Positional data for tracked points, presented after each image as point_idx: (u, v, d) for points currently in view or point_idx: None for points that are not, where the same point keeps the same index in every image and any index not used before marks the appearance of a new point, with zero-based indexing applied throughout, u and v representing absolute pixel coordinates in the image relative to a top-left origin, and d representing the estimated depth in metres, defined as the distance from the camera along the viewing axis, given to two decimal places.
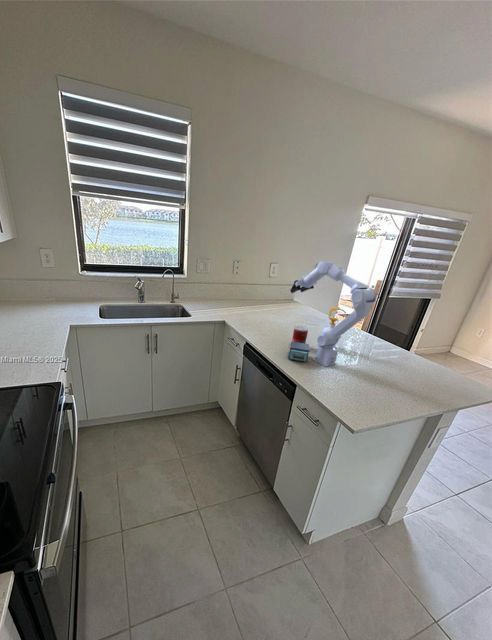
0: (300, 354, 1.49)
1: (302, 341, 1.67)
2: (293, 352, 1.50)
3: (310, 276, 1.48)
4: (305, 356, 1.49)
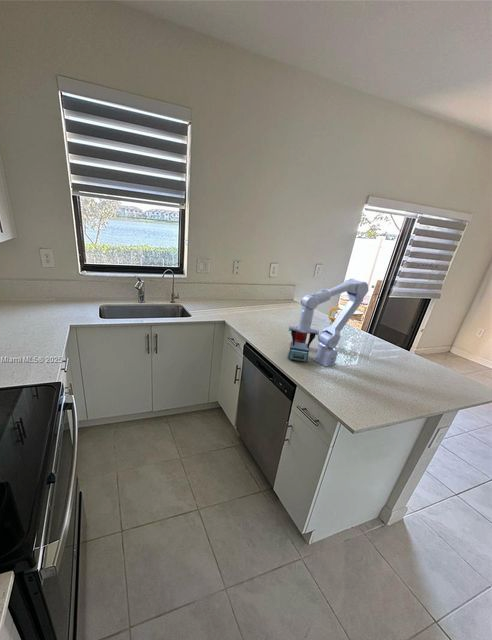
0: (300, 354, 1.49)
1: (302, 341, 1.67)
2: (293, 352, 1.50)
3: (308, 320, 1.38)
4: (305, 356, 1.49)
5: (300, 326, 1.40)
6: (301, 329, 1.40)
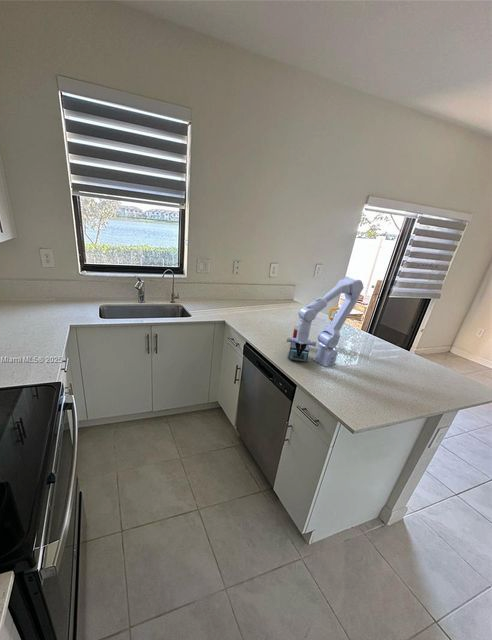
0: None
1: None
2: (293, 352, 1.50)
3: (306, 332, 1.40)
4: (305, 356, 1.49)
5: (298, 338, 1.43)
6: (299, 340, 1.43)
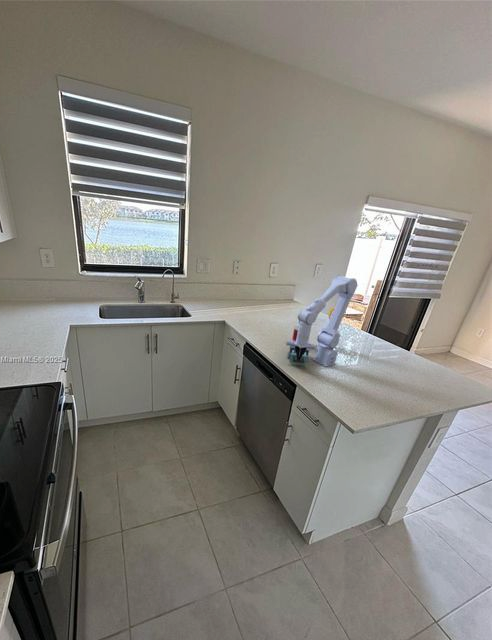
0: None
1: None
2: (293, 356, 1.46)
3: (307, 335, 1.36)
4: (305, 360, 1.45)
5: (297, 341, 1.38)
6: (298, 344, 1.38)
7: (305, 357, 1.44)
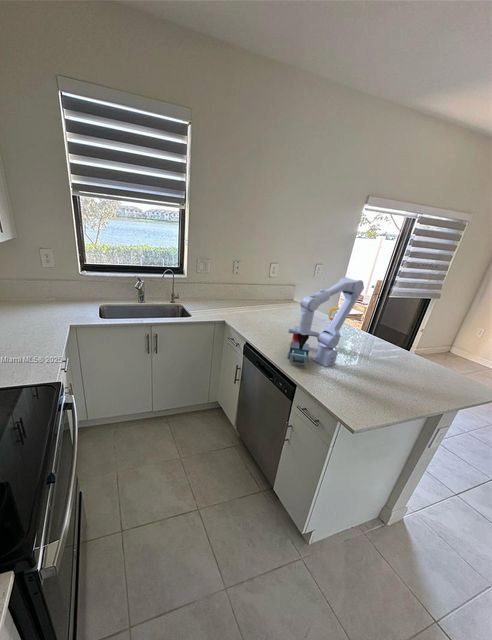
0: (300, 358, 1.45)
1: None
2: (293, 356, 1.46)
3: (309, 322, 1.35)
4: (305, 360, 1.45)
5: (300, 328, 1.38)
6: (301, 331, 1.37)
7: (305, 357, 1.44)
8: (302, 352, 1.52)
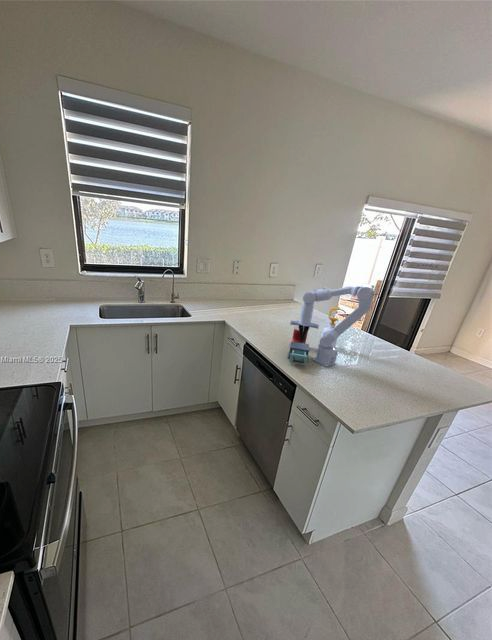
0: (300, 358, 1.45)
1: (302, 341, 1.67)
2: (293, 356, 1.46)
3: (305, 314, 1.47)
4: (305, 360, 1.45)
5: (301, 320, 1.50)
6: (302, 323, 1.50)
7: (305, 357, 1.44)
8: (302, 352, 1.52)
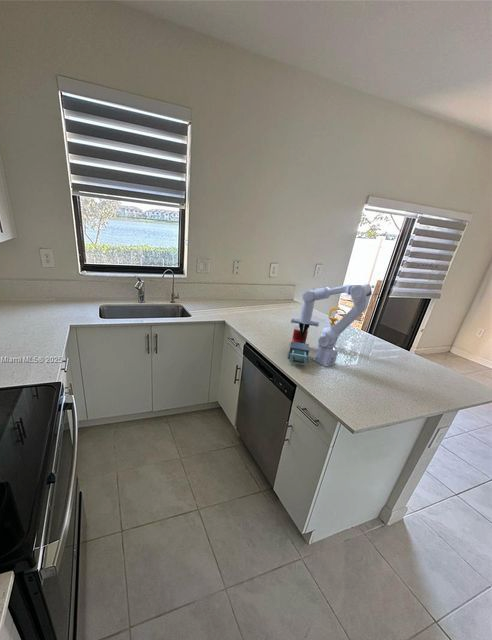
0: (300, 358, 1.45)
1: (302, 341, 1.67)
2: (293, 356, 1.46)
3: (303, 311, 1.51)
4: (305, 360, 1.45)
5: (301, 318, 1.53)
6: (302, 321, 1.53)
7: (305, 357, 1.44)
8: (302, 352, 1.52)
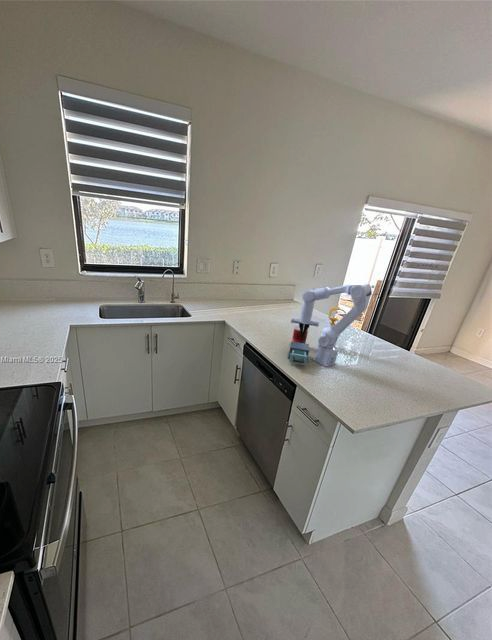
0: (300, 358, 1.45)
1: (302, 341, 1.67)
2: (293, 356, 1.46)
3: (303, 311, 1.51)
4: (305, 360, 1.45)
5: (301, 318, 1.53)
6: (302, 321, 1.53)
7: (305, 357, 1.44)
8: (302, 352, 1.52)
